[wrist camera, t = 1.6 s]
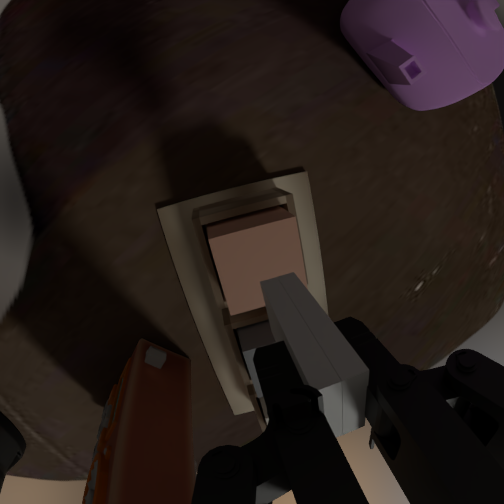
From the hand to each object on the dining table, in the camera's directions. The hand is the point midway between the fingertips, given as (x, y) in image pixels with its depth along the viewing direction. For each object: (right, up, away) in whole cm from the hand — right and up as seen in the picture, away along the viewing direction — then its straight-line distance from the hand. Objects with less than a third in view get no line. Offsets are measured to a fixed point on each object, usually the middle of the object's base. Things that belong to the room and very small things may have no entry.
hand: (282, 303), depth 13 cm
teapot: (+12, +22, +7) cm, 26 cm away
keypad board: (0, -4, +13) cm, 14 cm away
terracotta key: (-1, +3, +8) cm, 8 cm away
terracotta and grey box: (-13, -12, +14) cm, 22 cm away
